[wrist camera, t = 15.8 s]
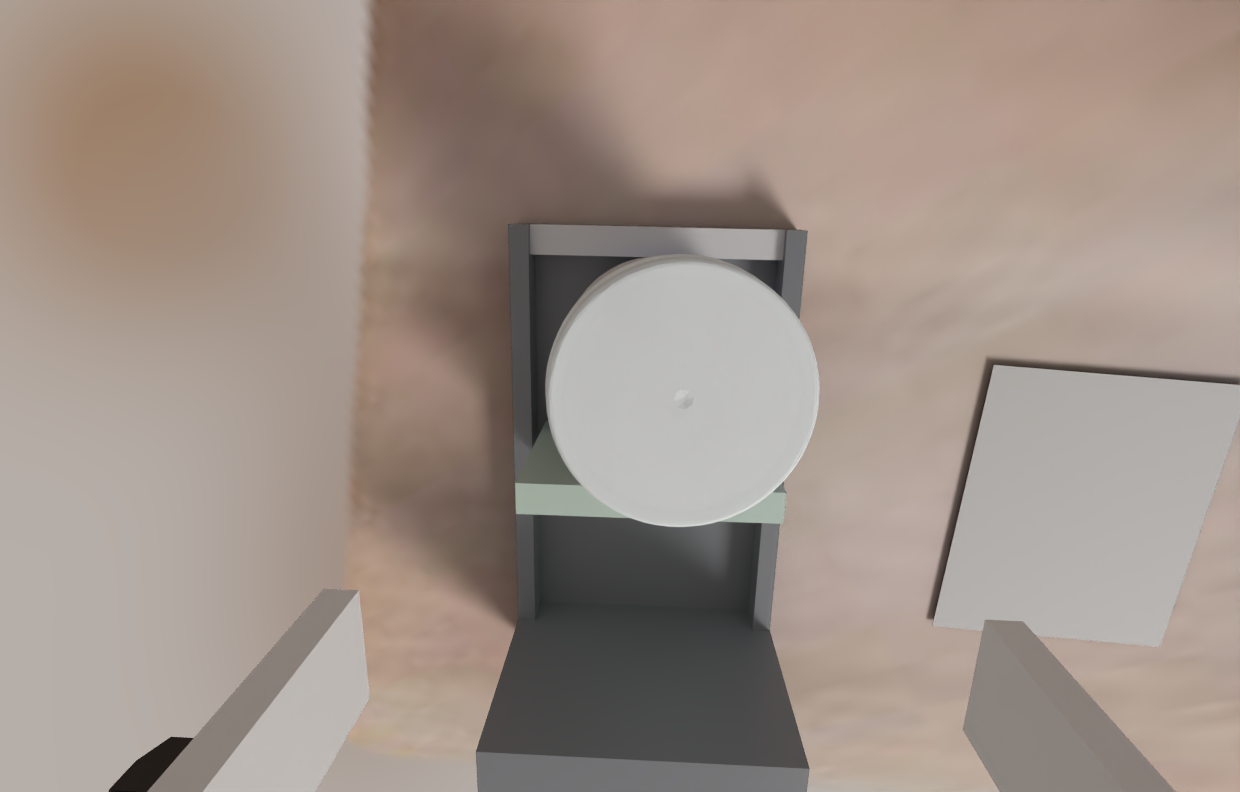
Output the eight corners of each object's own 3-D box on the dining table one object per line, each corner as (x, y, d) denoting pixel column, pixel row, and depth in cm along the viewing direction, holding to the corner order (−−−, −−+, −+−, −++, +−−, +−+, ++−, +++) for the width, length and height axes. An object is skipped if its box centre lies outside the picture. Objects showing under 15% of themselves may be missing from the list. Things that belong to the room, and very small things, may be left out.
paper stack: (1414, 396, 36) (1429, 399, 35) (1260, 760, 43) (1269, 769, 42) (987, 362, 37) (994, 364, 36) (902, 727, 43) (906, 735, 43)
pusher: (545, 421, 38) (515, 482, 29) (754, 427, 37) (786, 492, 29) (546, 445, 38) (515, 513, 30) (752, 452, 38) (783, 523, 29)
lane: (517, 223, 35) (450, 229, 23) (797, 229, 35) (874, 238, 23) (526, 637, 42) (478, 804, 30) (759, 647, 42) (803, 821, 30)
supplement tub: (690, 453, 37) (741, 580, 23) (538, 384, 36) (492, 472, 22) (770, 299, 36) (879, 333, 21) (612, 222, 35) (615, 202, 20)
